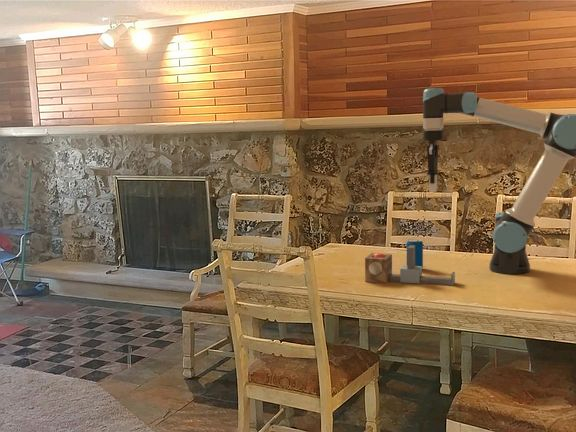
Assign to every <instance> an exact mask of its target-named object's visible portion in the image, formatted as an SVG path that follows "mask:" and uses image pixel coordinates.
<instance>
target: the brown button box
mask: <svg viewBox="0 0 576 432" xmlns="http://www.w3.org/2000/svg"><path fill="white" fill-rule="evenodd" d="M375 253H376V252H375ZM375 253H374V252H371V253H370V254H369V255H367V256H366V257H365V258H364V267H365V268H364V269H365V274H364V276H365V278H364V280H365V283H379V284H380V283H381V284H387V283H388V282H389V281H388V276H389V274H393V254H392V253H382V254H383V256H384V258H378V257H374V254H375Z"/></svg>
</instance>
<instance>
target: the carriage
mask: <svg viewBox="0 0 576 432" xmlns="http://www.w3.org/2000/svg"><path fill="white" fill-rule="evenodd" d="M399 271H400V273H399V274H400V283H407V284H408V283H411V284H421V283H420V276H423V268H422V266H415V245H410V246H409V247H408V248H407V247H406V264H404V265H402V266H401V267H400V269H399Z"/></svg>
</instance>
